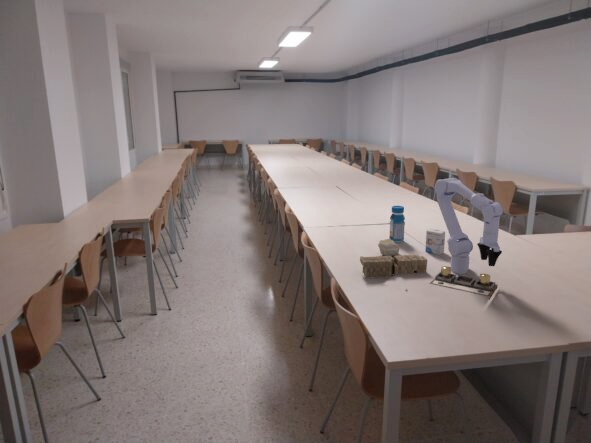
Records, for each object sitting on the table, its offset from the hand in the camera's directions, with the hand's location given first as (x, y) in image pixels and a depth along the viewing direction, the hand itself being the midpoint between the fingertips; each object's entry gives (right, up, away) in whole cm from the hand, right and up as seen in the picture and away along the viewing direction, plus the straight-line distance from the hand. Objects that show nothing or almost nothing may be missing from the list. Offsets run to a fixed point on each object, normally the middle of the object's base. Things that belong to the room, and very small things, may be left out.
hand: (487, 262), depth 179 cm
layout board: (-11, -10, -1) cm, 15 cm away
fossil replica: (-33, 0, +41) cm, 53 cm away
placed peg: (-16, -7, +5) cm, 18 cm away
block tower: (-37, -7, +16) cm, 41 cm away
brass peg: (-3, -10, -4) cm, 11 cm away
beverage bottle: (-23, +6, +66) cm, 70 cm away
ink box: (-8, +1, +44) cm, 45 cm away
